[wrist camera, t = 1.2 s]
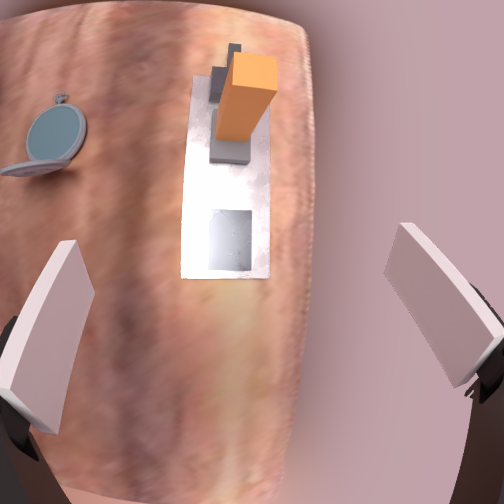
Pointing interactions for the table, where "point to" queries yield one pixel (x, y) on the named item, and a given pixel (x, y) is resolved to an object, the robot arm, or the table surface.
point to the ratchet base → (224, 196)
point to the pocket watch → (51, 140)
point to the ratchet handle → (241, 105)
